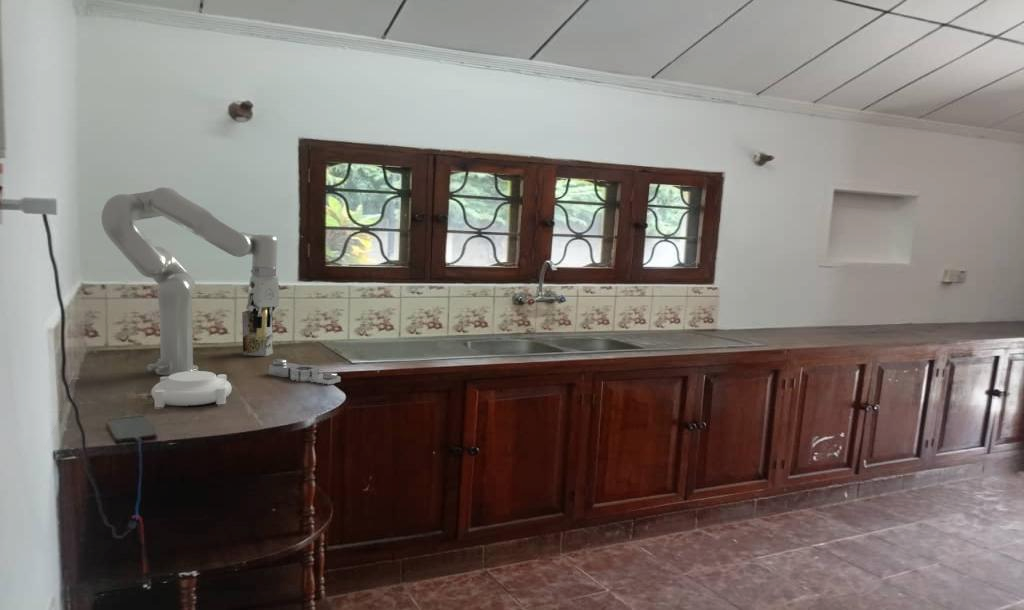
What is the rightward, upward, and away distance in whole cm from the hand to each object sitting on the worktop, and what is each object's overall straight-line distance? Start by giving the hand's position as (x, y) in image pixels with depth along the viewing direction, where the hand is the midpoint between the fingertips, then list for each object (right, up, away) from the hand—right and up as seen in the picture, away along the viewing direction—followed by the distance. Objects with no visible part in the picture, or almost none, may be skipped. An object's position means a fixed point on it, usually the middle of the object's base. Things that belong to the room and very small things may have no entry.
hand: (261, 326), depth 236 cm
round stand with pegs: (-7, -20, -36) cm, 41 cm away
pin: (0, -4, 0) cm, 4 cm away
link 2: (+20, -17, -8) cm, 27 cm away
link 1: (+12, -16, -4) cm, 21 cm away
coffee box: (-11, -11, +26) cm, 30 cm away
